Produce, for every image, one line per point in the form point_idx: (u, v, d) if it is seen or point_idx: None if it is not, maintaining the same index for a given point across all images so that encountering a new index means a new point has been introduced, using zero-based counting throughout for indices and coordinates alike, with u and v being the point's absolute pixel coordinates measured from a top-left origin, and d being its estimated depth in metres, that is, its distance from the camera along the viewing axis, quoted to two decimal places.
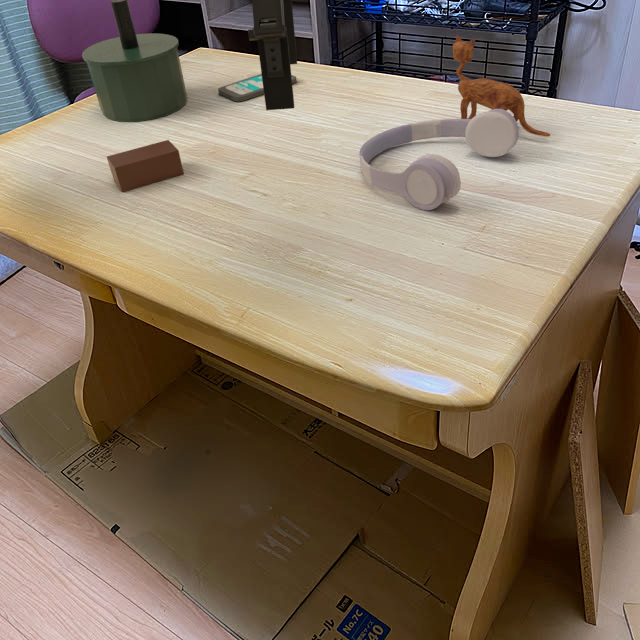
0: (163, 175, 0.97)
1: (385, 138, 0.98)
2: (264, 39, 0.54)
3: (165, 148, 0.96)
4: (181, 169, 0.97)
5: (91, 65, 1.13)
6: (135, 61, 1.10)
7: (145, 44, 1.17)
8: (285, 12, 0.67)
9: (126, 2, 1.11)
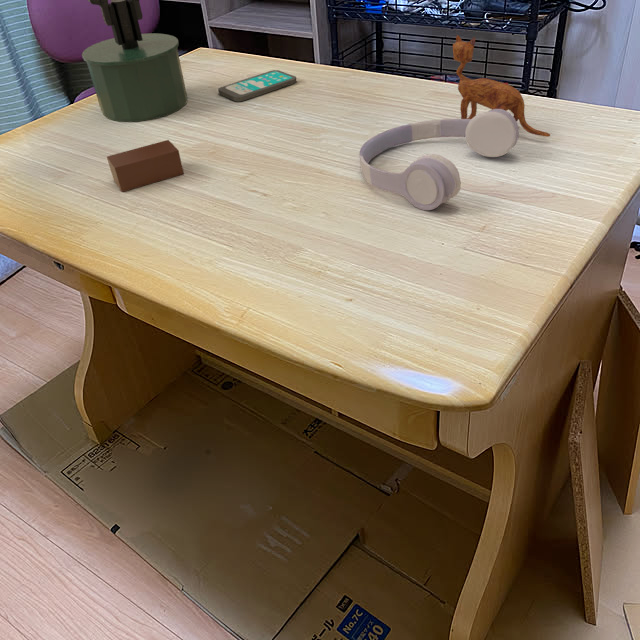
0: (163, 175, 0.97)
1: (385, 138, 0.98)
2: None
3: (165, 148, 0.96)
4: (181, 169, 0.97)
5: (91, 65, 1.13)
6: (135, 61, 1.10)
7: (145, 44, 1.17)
8: (130, 8, 1.13)
9: (126, 2, 1.11)
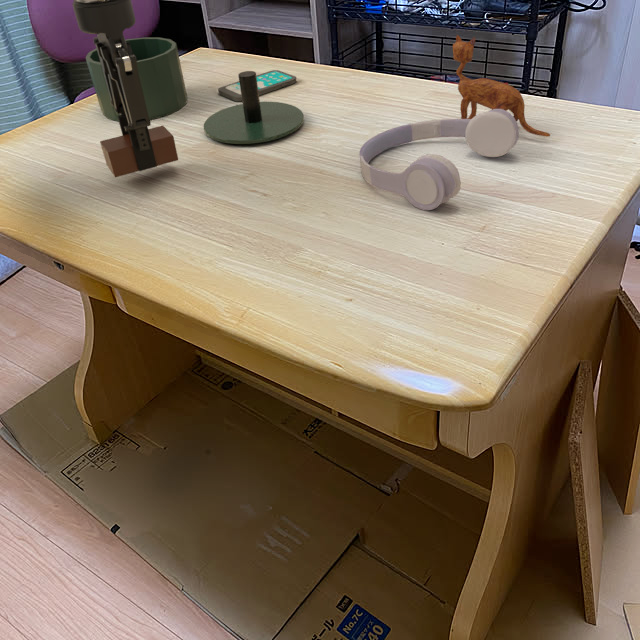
0: (157, 161, 0.95)
1: (385, 138, 0.98)
2: (136, 129, 0.89)
3: (159, 133, 0.95)
4: (176, 155, 0.96)
5: (91, 65, 1.13)
6: (266, 139, 1.04)
7: (268, 116, 1.11)
8: None
9: (255, 76, 1.05)
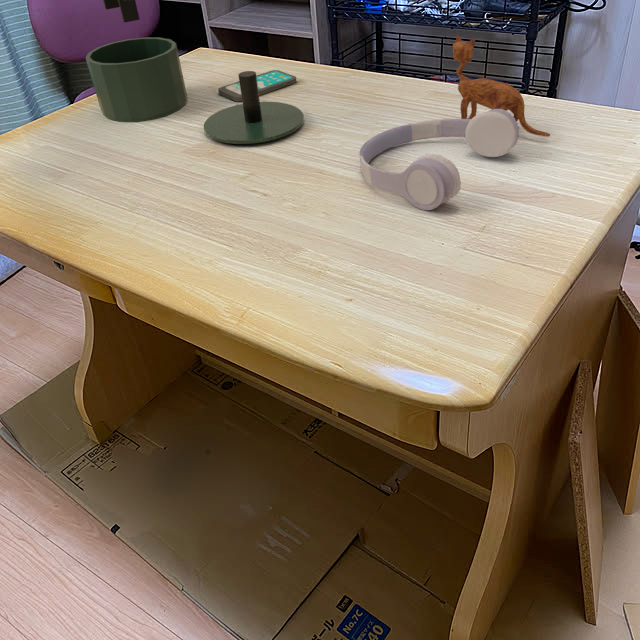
0: None
1: (385, 138, 0.98)
2: None
3: None
4: None
5: (91, 65, 1.13)
6: (266, 139, 1.04)
7: (268, 116, 1.11)
8: None
9: (255, 76, 1.05)
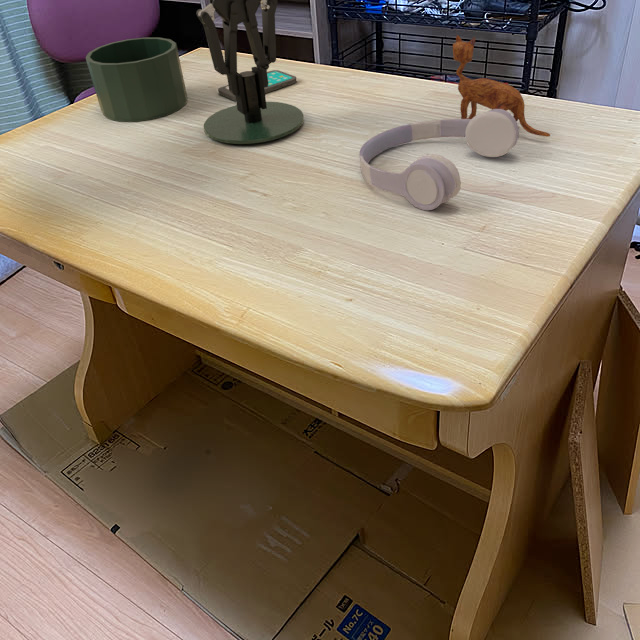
0: None
1: (385, 138, 0.98)
2: None
3: None
4: None
5: (91, 65, 1.13)
6: (266, 139, 1.04)
7: (268, 116, 1.11)
8: (257, 76, 1.06)
9: (255, 76, 1.05)
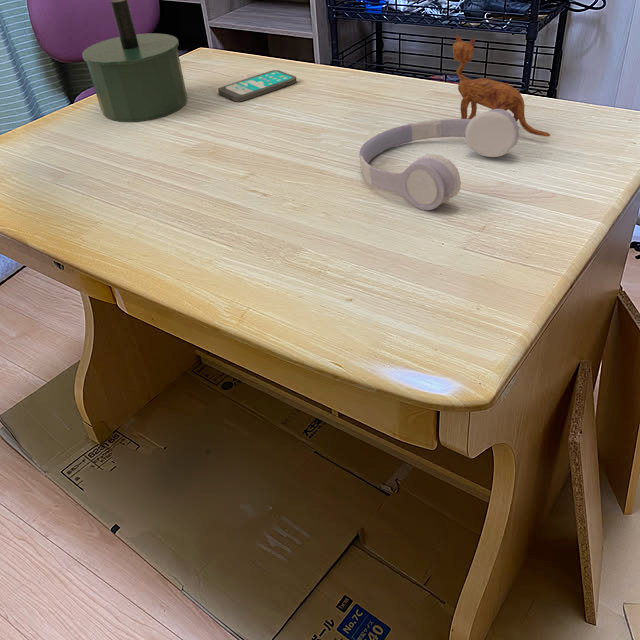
0: None
1: (385, 138, 0.98)
2: None
3: None
4: None
5: (91, 65, 1.13)
6: (135, 61, 1.10)
7: (145, 44, 1.17)
8: None
9: (126, 2, 1.11)
